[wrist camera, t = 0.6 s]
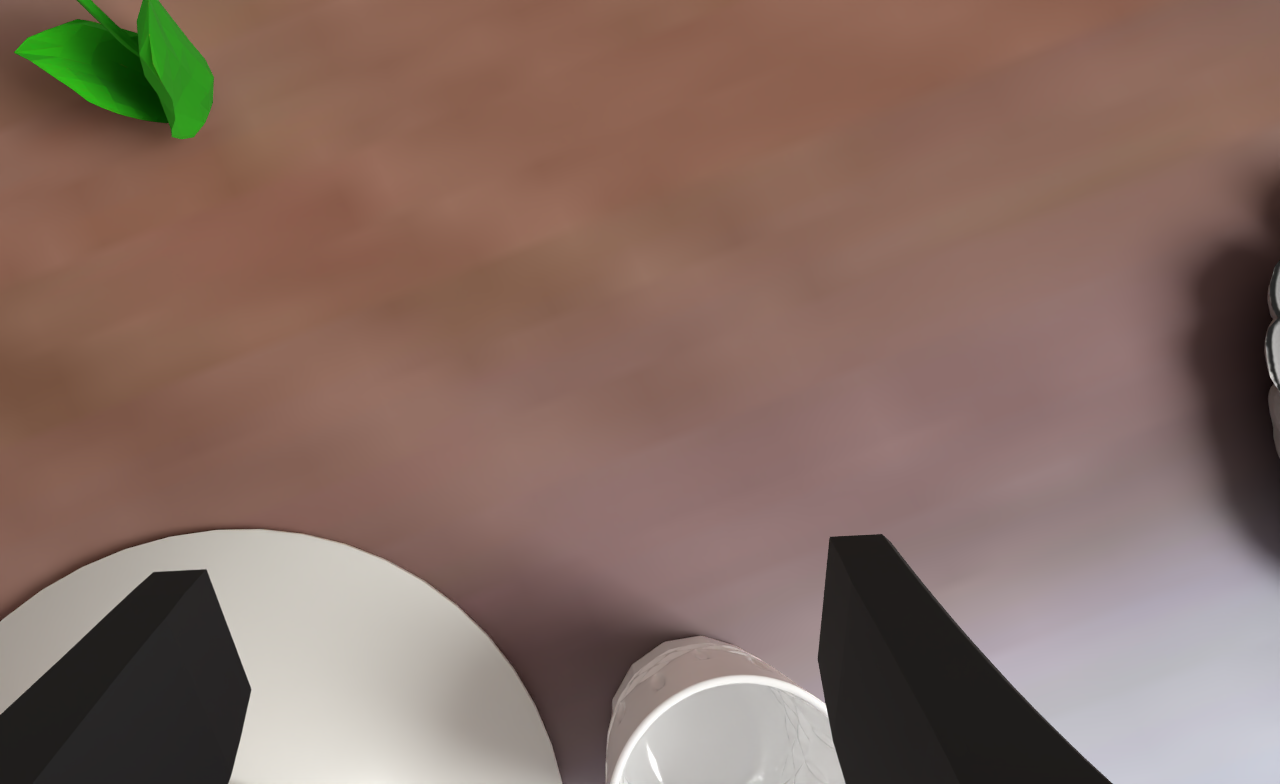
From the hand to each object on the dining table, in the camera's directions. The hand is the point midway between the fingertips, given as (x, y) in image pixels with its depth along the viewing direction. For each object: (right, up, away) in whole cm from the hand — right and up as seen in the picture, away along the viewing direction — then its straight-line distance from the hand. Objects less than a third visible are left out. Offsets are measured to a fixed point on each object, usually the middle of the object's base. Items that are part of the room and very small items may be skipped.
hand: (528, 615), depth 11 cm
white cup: (+3, -10, +26) cm, 29 cm away
